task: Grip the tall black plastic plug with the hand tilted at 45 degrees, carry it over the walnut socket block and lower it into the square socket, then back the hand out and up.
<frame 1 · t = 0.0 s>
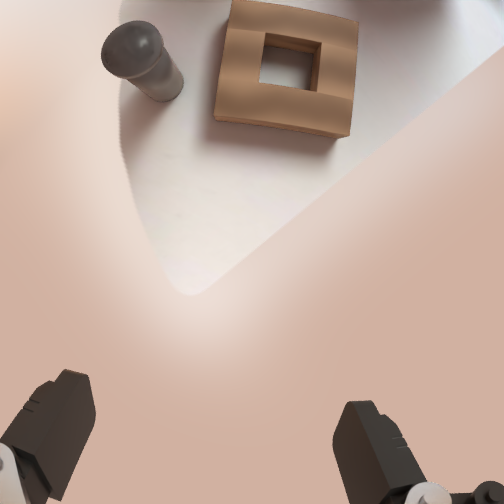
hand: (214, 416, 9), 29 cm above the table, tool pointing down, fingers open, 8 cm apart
plug: (164, 84, 32), on the table
socket block: (285, 71, 32), on the table
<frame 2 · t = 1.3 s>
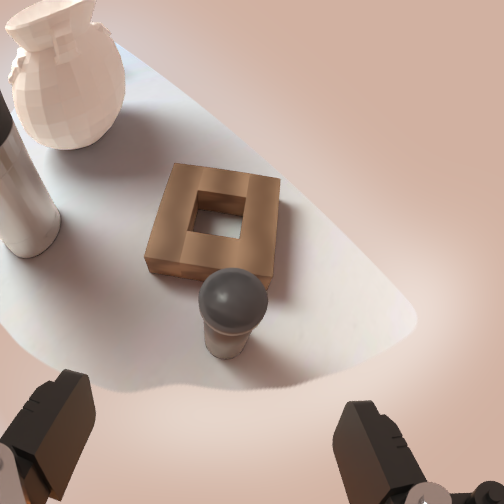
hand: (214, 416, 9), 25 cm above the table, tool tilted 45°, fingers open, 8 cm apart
plug: (224, 339, 34), on the table
white handled vase: (81, 133, 47), on the table
socket block: (216, 231, 41), on the table
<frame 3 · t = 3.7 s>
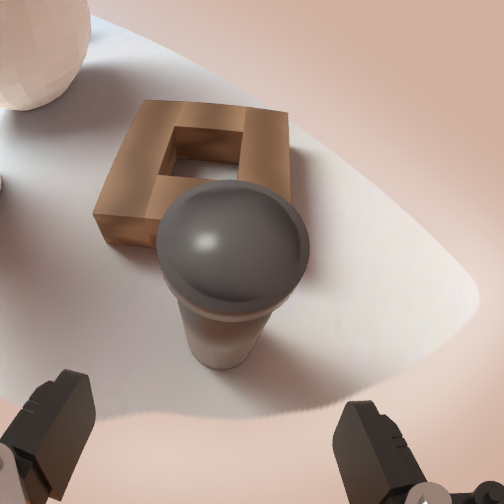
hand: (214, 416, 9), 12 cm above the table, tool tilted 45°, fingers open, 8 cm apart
plug: (220, 338, 22), on the table
white handled vase: (40, 94, 34), on the table
socket block: (202, 183, 28), on the table
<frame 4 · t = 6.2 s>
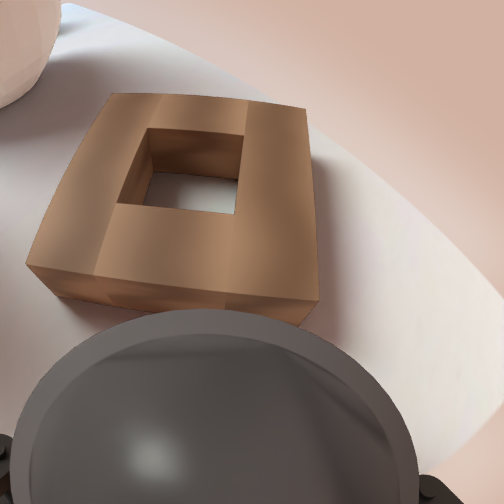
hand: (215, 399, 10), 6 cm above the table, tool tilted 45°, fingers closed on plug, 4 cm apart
plug: (211, 442, 14), on the table, touching gripper
white handled vase: (6, 92, 26), on the table
socket block: (187, 209, 20), on the table
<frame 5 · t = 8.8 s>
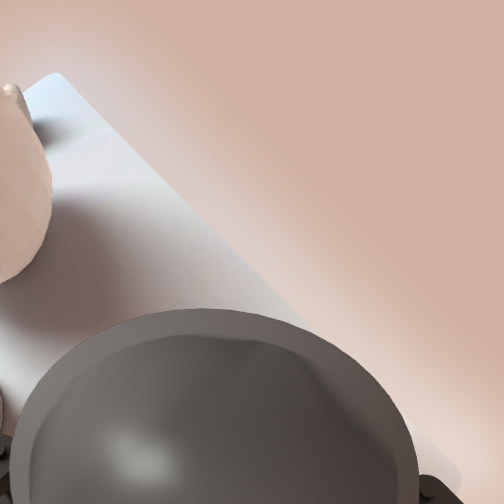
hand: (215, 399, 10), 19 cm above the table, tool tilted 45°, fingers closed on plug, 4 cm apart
plug: (212, 442, 14), point 13 cm above the table, touching gripper
donut: (26, 134, 40), on the table
white handled vase: (11, 243, 31), on the table
when the fingers open (7 cm above the table, at t = 11.8 s): plug drops 1 cm, resting in socket block.
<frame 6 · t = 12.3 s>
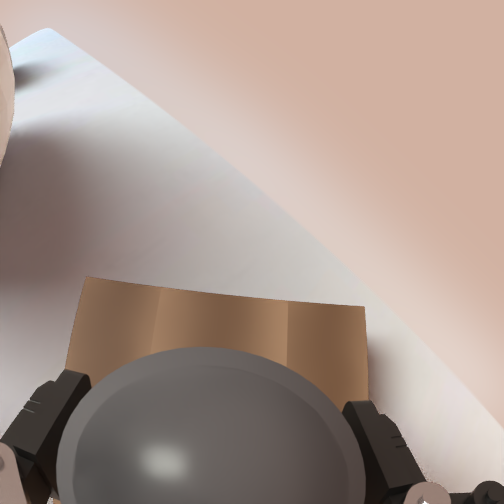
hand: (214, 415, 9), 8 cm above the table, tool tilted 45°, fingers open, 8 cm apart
plug: (211, 441, 15), resting in socket block
donut: (5, 80, 31), on the table
socket block: (211, 440, 15), on the table
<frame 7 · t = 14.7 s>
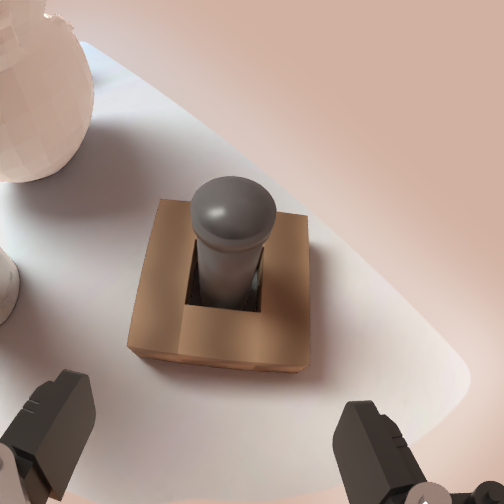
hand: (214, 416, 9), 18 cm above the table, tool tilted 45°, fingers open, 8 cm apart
plug: (224, 293, 30), resting in socket block
white handled vase: (45, 157, 36), on the table
socket block: (224, 293, 30), on the table
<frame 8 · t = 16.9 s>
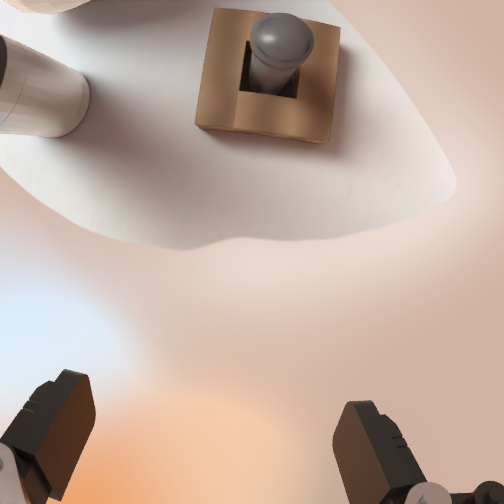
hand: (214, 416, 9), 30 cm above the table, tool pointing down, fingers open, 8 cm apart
plug: (267, 78, 33), resting in socket block
socket block: (267, 78, 33), on the table
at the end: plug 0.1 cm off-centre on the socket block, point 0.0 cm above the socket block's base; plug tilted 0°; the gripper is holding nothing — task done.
